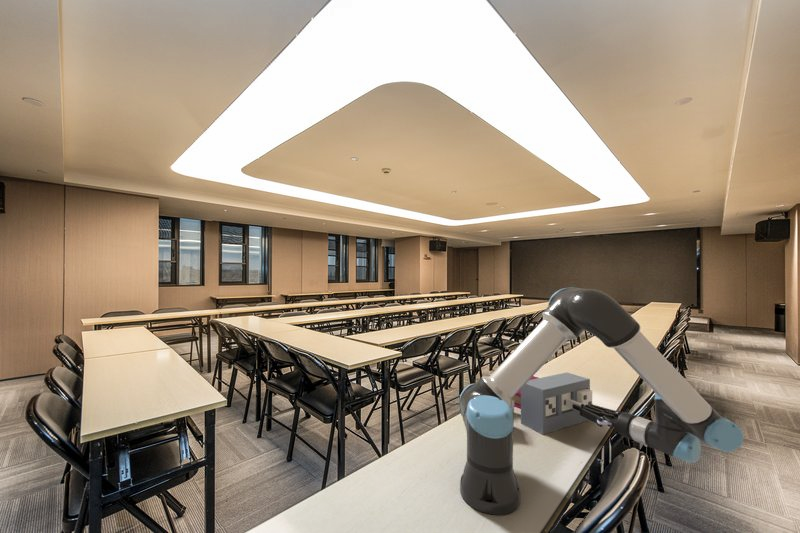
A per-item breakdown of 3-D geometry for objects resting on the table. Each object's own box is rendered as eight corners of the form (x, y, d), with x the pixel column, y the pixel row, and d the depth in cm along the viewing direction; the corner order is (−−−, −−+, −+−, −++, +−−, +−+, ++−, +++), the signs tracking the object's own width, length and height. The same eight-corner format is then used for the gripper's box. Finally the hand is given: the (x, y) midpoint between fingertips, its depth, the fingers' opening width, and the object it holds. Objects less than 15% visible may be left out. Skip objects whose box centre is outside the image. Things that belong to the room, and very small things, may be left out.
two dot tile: (582, 411, 124) (582, 393, 124) (574, 407, 127) (574, 390, 127) (593, 407, 127) (593, 390, 127) (585, 404, 130) (584, 388, 130)
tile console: (543, 434, 117) (543, 390, 117) (520, 423, 125) (520, 381, 126) (590, 419, 130) (589, 379, 130) (567, 410, 139) (566, 372, 139)
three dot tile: (544, 417, 118) (544, 399, 118) (537, 413, 121) (537, 396, 121) (556, 413, 121) (556, 396, 121) (548, 410, 124) (548, 393, 124)
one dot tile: (560, 412, 122) (560, 394, 123) (552, 409, 125) (552, 392, 125) (571, 409, 125) (571, 392, 126) (563, 406, 128) (563, 389, 129)
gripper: (623, 445, 100) (555, 415, 121) (646, 435, 106) (577, 409, 127) (623, 420, 100) (555, 395, 121) (645, 412, 106) (577, 389, 127)
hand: (567, 402), depth 124 cm, fingers closed
